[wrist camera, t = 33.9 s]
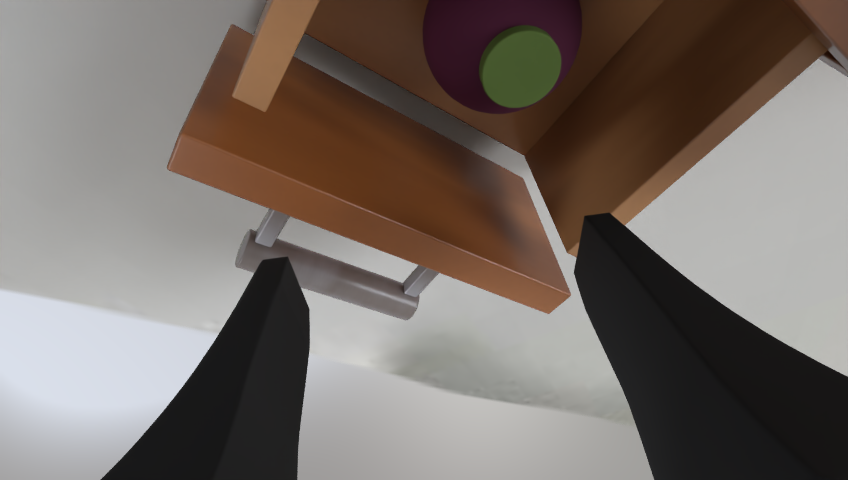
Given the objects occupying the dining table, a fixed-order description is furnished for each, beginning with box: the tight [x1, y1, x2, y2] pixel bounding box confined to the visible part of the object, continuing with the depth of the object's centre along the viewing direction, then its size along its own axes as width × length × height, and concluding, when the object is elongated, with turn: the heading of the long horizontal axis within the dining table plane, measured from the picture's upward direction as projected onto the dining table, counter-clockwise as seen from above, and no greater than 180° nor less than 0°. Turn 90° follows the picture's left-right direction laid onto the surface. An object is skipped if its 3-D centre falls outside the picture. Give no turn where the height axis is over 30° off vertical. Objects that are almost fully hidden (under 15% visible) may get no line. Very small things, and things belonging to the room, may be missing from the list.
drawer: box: [167, 0, 827, 320], centre depth 15 cm, size 17×13×7 cm
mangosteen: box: [422, 0, 582, 114], centre depth 14 cm, size 4×4×5 cm
